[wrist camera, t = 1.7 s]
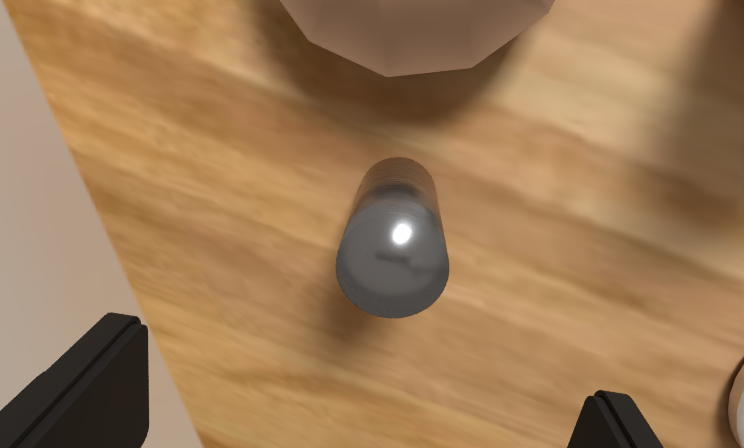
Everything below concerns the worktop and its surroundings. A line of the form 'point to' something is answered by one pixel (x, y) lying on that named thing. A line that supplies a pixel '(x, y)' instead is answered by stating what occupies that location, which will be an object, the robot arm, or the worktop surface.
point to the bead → (414, 30)
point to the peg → (394, 242)
